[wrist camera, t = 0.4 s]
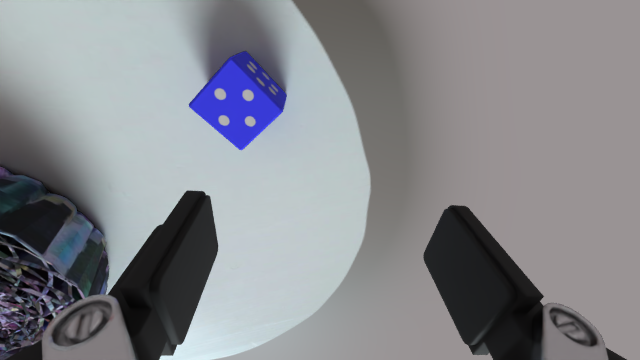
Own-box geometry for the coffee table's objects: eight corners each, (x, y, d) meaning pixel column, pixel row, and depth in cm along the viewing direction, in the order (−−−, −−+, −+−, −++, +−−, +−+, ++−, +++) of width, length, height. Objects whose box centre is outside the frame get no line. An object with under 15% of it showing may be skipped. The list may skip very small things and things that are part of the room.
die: (251, 130, 25) (240, 151, 21) (208, 91, 23) (187, 106, 18) (287, 95, 23) (284, 110, 19) (245, 49, 21) (230, 55, 17)
